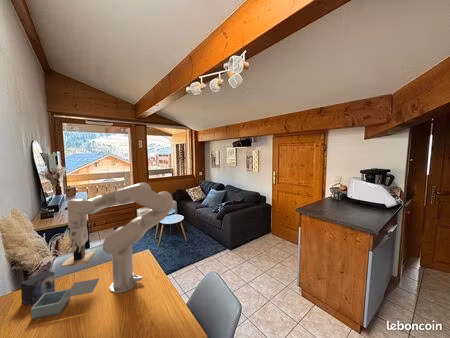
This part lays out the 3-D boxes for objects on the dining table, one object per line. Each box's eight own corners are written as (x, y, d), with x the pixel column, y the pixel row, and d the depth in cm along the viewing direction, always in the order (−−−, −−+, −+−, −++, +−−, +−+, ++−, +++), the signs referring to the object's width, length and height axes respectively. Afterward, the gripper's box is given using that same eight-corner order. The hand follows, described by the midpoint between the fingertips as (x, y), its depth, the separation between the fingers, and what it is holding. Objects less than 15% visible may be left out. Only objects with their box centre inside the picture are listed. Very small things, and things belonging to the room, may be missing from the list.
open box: (70, 298, 94) (69, 288, 93) (60, 314, 84) (59, 303, 84) (44, 303, 90) (44, 293, 90) (31, 320, 81) (30, 309, 81)
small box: (31, 306, 89) (30, 284, 88) (20, 304, 90) (19, 283, 89) (55, 291, 99) (54, 271, 98) (45, 289, 100) (44, 270, 100)
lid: (95, 253, 106) (95, 242, 106) (87, 263, 96) (87, 251, 95) (71, 256, 103) (71, 245, 103) (61, 267, 93) (60, 255, 92)
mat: (99, 278, 109) (99, 278, 109) (92, 292, 97) (92, 292, 97) (74, 283, 105) (74, 282, 105) (63, 298, 94) (63, 297, 94)
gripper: (79, 227, 92) (81, 264, 93) (92, 217, 107) (93, 249, 108) (60, 229, 89) (62, 267, 90) (76, 218, 105) (78, 251, 106)
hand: (79, 257), depth 99 cm, fingers closed on lid, 3 cm apart
